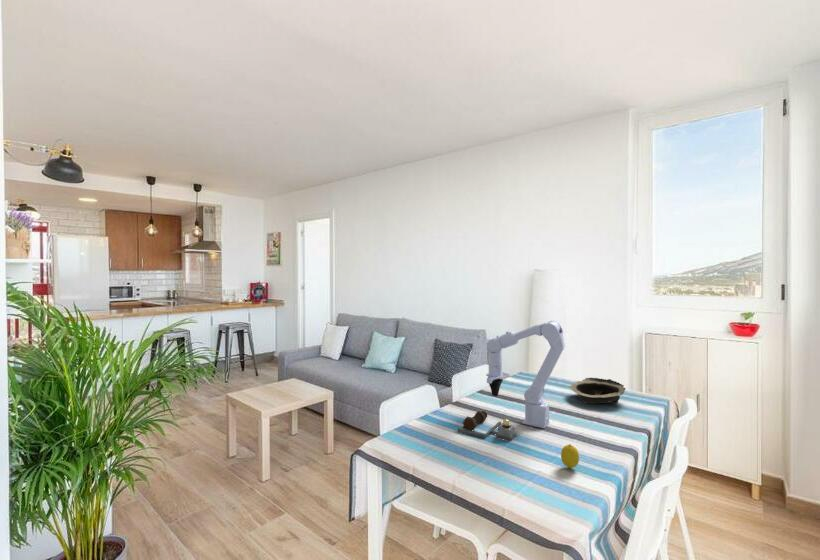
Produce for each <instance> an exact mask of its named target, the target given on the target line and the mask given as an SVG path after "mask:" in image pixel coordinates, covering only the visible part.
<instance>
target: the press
mask: <svg viewBox="0 0 820 560" xmlns="http://www.w3.org/2000/svg"><path fill="white" fill-rule="evenodd" d="M497 427H498V428H497ZM464 428H465V427H464V425H463V424H462V426H460V427H459V426H458V427H457V428H456V430H457V431H458V432H457V433H460V432H462V433H461V434H464V433H466V434H465V435H468V434H469V436H472V435H474V436H473V437H476V436H477V438H480V437H482V438H481V439H484V438H486V439H487V438H488V437H489V436H490V435H494V434H496V435H495V438H496V439H498V438H500V440H502V439H504V440H503V441H506V440H507V441H506V442H510V441H511V442H512V441H513V440H514V439H515V438H516V437H517V432H515V430H516V429H515V425H514V424H510V423H509V428H504V427H503V422H502V421H497V423H495V424H494V425H493V426H492V427H491V428H490V429H489V430H488V431H486V432H485V433H484V432H478V431H475V430H473V431H472V430H468V429H464ZM496 428H497V429H496ZM495 429H496V430H497V431H496V430H495ZM494 430H495V431H494Z"/></svg>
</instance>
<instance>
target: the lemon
mask: <svg viewBox="0 0 820 560" xmlns="http://www.w3.org/2000/svg"><path fill="white" fill-rule="evenodd" d="M560 459H561V462H562V463H563V465H564V466H565V467H567V468H568V469H569V470H570V469H573V468H575V467H577V466H578V464H579V462H580V454H579V451H578V449H577V448H576V447H575V446H574V445H572V444H571V443H570V444H566V445H564V446H563V447H562V448H561V452H560Z"/></svg>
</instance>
